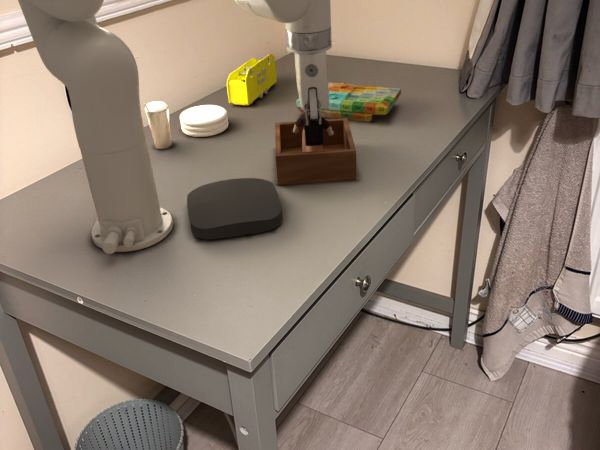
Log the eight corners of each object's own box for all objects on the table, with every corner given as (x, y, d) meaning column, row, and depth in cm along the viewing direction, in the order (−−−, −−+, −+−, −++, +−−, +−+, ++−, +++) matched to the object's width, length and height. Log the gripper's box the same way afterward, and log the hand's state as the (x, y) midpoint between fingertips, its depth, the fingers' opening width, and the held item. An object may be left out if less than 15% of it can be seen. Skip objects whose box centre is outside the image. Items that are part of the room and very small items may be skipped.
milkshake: (144, 150, 127) (135, 102, 122) (161, 139, 131) (153, 93, 126) (162, 153, 125) (153, 105, 120) (179, 143, 129) (171, 95, 124)
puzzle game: (314, 78, 144) (401, 84, 138) (315, 98, 147) (400, 105, 140) (295, 96, 135) (387, 104, 128) (296, 117, 138) (387, 126, 131)
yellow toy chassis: (250, 108, 143) (246, 72, 139) (228, 106, 145) (223, 70, 141) (278, 85, 156) (276, 51, 151) (257, 83, 158) (254, 49, 153)
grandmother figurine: (291, 165, 117) (287, 99, 110) (295, 155, 120) (291, 91, 113) (333, 166, 115) (331, 99, 108) (336, 156, 118) (334, 91, 112)
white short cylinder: (232, 133, 132) (231, 117, 130) (185, 141, 130) (182, 125, 128) (224, 116, 140) (222, 101, 138) (178, 123, 138) (176, 108, 136)
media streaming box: (192, 245, 97) (189, 228, 95) (187, 199, 109) (185, 183, 107) (287, 230, 99) (285, 214, 97) (272, 187, 111) (270, 172, 109)
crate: (356, 179, 112) (356, 150, 109) (277, 185, 111) (275, 156, 109) (347, 144, 124) (347, 117, 121) (277, 149, 124) (274, 122, 121)
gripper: (335, 51, 99) (338, 158, 108) (327, 24, 113) (330, 121, 122) (287, 54, 99) (294, 161, 108) (285, 27, 113) (291, 124, 122)
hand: (313, 139), depth 115 cm, fingers open, 3 cm apart
